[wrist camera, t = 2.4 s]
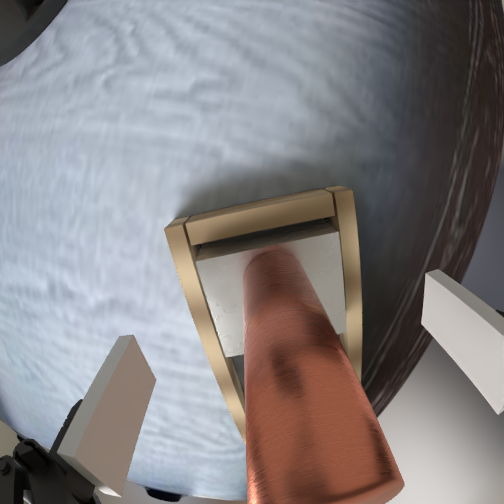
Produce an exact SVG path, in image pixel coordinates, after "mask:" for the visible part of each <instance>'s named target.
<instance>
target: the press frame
mask: <svg viewBox="0 0 504 504" xmlns="http://www.w3.org/2000/svg"><path fill="white" fill-rule="evenodd" d="M325 217H328V221H329V224H330V225H331V226H332V227H334V228H335V229H336V230H337V231H338V232H339V239H340V248H341V258H342V269H343V281H344V295H345V312H346V332H344V333H341V334H339V339H340V341H341V343H342V345H343V347H344V349H345V351H346V353H347V355H348V357H349V360H350V362H351V364H352V366H353V368H354V370H355V372H356V374H357V376H358V378H359V381H360V383H361V365H362V292H361V271H360V255H359V242H358V231H357V221H356V212H355V203H354V195H353V190H352V189H349V188H346V187H343V186H334V187H328V188H324V190H323V189H317V190H311V191H306V192H300V193H295V194H290V195H285V196H280V197H274V198H269V199H265V200H260V201H255V202H250V203H245V204H241V205H236V206H231V207H227V208H222V209H218V210H214V211H209V212H205V213H201V214H196V215H192V216H191V218H190V216H188V217H184V218H180V219H176V220H173V221H172V222H171V223H170V224H169V225H168V226H167V227H166V228H165V229H164V231H165V234H166V238H167V241H168V244H169V248H170V251H171V254H172V258H173V261H174V264H175V267H176V270H177V273H178V277H179V280H180V283H181V286H182V289H183V292H184V295H185V298H186V301H187V303H188V306H189V309H190V312H191V315H192V318H193V321H194V323H195V326H196V329H197V331H198V334H199V337H200V340H201V342H202V345H203V347H204V350H205V353H206V355H207V358H208V360H209V363H210V365H211V368H212V370H213V373H214V375H215V378H216V380H217V383H218V385H219V387H220V390H221V392H222V394H223V397H224V399H225V401H226V404H227V406H228V408H229V410H230V413H231V415H232V417H233V419H234V422H235V424H236V426H237V428H238V430H239V432H240V435H241V437H242V439H243V441H244V443H245V445H246V427H245V395H244V392H243V389H242V387H241V384H240V381H239V378H238V375H237V372H236V369H235V366H234V363H233V361H232V358H231V357H226V356H225V353H224V350H223V347H222V344H221V341H220V339H219V336H218V333H217V330H216V326H215V323H214V320H213V317H212V314H211V311H210V308H209V305H208V302H207V298H206V295H205V292H204V289H203V285H202V282H201V279H200V275H199V272H198V269H197V265H196V262H195V261H196V259H197V257H198V254H199V250H198V246H197V244H201V243H205V242H210V241H214V240H219V239H224V238H228V237H233V236H238V235H242V234H247V233H252V232H256V231H261V230H266V229H271V228H276V227H281V226H285V225H290V224H295V223H300V222H305V221H310V220H315V219H320V218H325Z"/></svg>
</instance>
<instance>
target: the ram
mask: <svg viewBox="0 0 504 504" xmlns="http://www.w3.org/2000/svg"><path fill="white" fill-rule="evenodd" d="M195 262H196V265H197V269H198V272H199V275H200V279H201V282H202V285H203V289H204V292H205V295H206V298H207V302H208V305H209V308H210V311H211V314H212V317H213V320H214V323H215V326H216V330H217V333H218V336H219V339H220V341H221V344H222V347H223V350H224V353H225V356H226V357H231V356H237V355H243V354H244V383H245V427H246V463H247V495H248V504H385V503H386V502H388V501H389V500H391V499H392V498H394V497H395V496H396V495H397V494H398V493H399V492H400V491H401V490H402V489H403V487H404V481H403V478H402V476H401V474H400V471H399V469H398V466H397V464H396V462H395V459H394V457H393V454H392V452H391V450H390V447H389V445H388V443H387V440H386V438H385V436H384V433H383V431H382V429H381V427H380V424H379V422H378V420H377V418H376V415H375V413H374V411H373V409H372V407H371V404H370V402H369V400H368V398H367V396H366V393H365V391H364V389H363V387H362V385H361V383H360V381H359V378H358V376H357V374H356V372H355V370H354V368H353V366H352V364H351V362H350V360H349V357H348V355H347V353H346V351H345V349H344V347H343V345H342V343H341V341H340V339H339V337H338V335H337V334H341V333H344V332H346V312H345V295H344V281H343V269H342V258H341V248H340V239H339V232H338V231H337V230H336V229H335V228H334V227H332V226H331V225H330V224H329V223H327V222H326V221H325V220H324V219H322V218H320V219H315V220H310V221H305V222H300V223H295V224H290V225H285V226H281V227H276V228H271V229H266V230H261V231H256V232H252V233H247V234H242V235H238V236H233V237H228V238H224V239H219V240H214V241H210V242H205V243H203V245H202V247H201V250H200V252H199V254H198V257H197V259H196V261H195Z"/></svg>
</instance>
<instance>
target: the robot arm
mask: <svg viewBox="0 0 504 504" xmlns="http://www.w3.org/2000/svg"><path fill="white" fill-rule="evenodd" d="M66 1H67V0H0V66H2V65H4V64H6V63H8V62H9V61H11V60H12V59H14V58H15V57H16V56H17V55H19V54H20V53H21V52H22V51H23V50H25V49H26V48H27V47H28V46H29V45H30V44H31V43H32V42H33V41H34V40H35V39H36V38H37V37H38V36H39V35H40V33H41V32H42V31H43V30H44V29H45V28H46V27H47V26H48V24H49V23H50V22H51V21H52V19H53V18H54V17H55V16H56V14H57V13H58V12H59V11H60V9H61V8H62V6H63V5H64V4H65V2H66ZM421 324H422V325H423V326H424V327H425V328H426V329H427V330H428V332H429V333H430V334H431V335H432V336H433V337H434V338H435V339H436V340H437V341H438V343H439V344H440V345H441V346H442V347H443V348H444V349H445V350H446V352H447V353H448V354H449V355H450V356H451V357H452V359H454V361H456V363H457V364H458V366H459V367H460V368H461V369H462V370H463V371H464V373H465V374H466V375H467V376H468V377H469V379H470V380H471V381H472V382H473V384H474V385H475V386H476V387H477V388H478V390H479V391H480V392H481V394H482V395H483V396H484V397H485V399H486V400H487V401H488V402H489V404H490V405H491V406H492V408H493V409H494V410H495V412H496V413H497V414H500V413H501V412H502V411H504V312H501V311H499V310H496V311H495V310H493V309H492V308H491V307H490V306H488V305H487V304H486V303H484V302H483V301H482V300H480V299H479V298H478V297H476V296H475V295H474V294H472V293H471V292H470V291H468V290H467V289H466V288H464V287H463V286H461V285H460V284H459V283H457V282H456V281H454V280H453V279H452V278H450V277H449V276H447V275H446V274H444V273H443V272H442V271H440V270H439V269H437V270H434V271H431V272H428V273H426V275H425V291H424V303H423V313H422V321H421ZM155 382H156V378H155V376H154V374H153V373H152V371H151V369H150V367H149V365H148V363H147V361H146V359H145V357H144V355H143V353H142V351H141V349H140V347H139V345H138V343H137V341H136V339H135V337H134V335H126V336H119V338H118V339H117V341H116V343H115V344H114V346H113V348H112V349H111V351H110V353H109V355H108V356H107V358H106V360H105V361H104V363H103V365H102V367H101V368H100V370H99V372H98V374H97V375H96V377H95V379H94V381H93V383H92V384H91V386H90V388H89V390H88V392H87V394H86V395H85V397H84V399H80V400H79V401H78V402H77V403H76V404H75V405H74V406H73V407H72V409H71V411H70V412H69V414H68V416H67V419H66V420H65V422H64V424H63V427H62V428H61V430H60V431H59V433H58V435H57V437H56V439H55V441H54V443H53V445H52V448H51V450H50V452H49V453H47V452H46V451H45V450H44V449H43V448H42V447H41V446H40V444H39V443H38V442H36V441H35V440H34V439H25V440H23V441H21V442H20V443H19V444H18V445H17V446H16V447H15V449H14V451H13V458H12V457H11V456H8V455H5V456H3V457H1V458H0V504H23V503H24V501H23V500H25V501H27V502H28V503H29V504H101V502H100V500H99V498H98V496H97V495H96V494H95V493H94V488H95V487H97V488H98V489H99V490H101V491H102V492H103V493H105V494H109V495H114V496H119V497H122V494H123V490H124V486H125V482H126V478H127V475H128V471H129V467H130V464H131V460H132V457H133V453H134V450H135V446H136V443H137V440H138V436H139V433H140V430H141V426H142V423H143V420H144V417H145V413H146V410H147V407H148V404H149V401H150V398H151V395H152V392H153V388H154V385H155Z"/></svg>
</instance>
